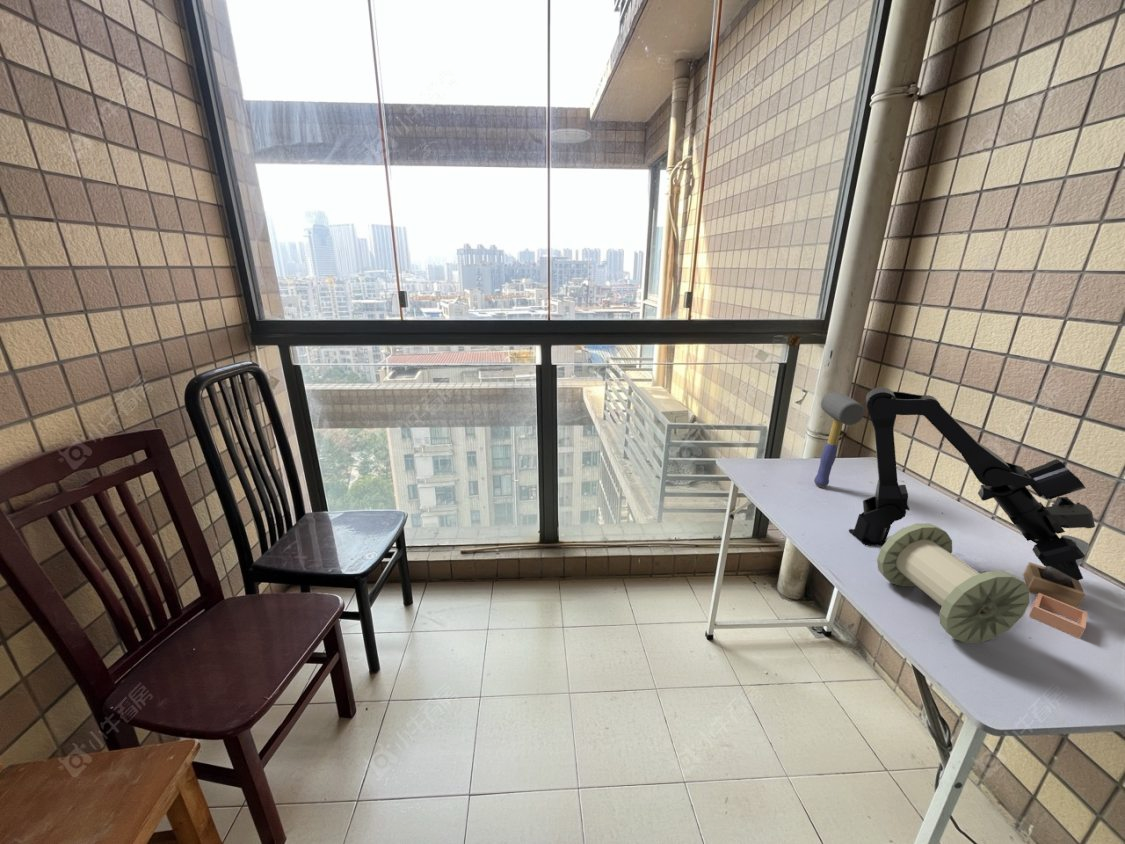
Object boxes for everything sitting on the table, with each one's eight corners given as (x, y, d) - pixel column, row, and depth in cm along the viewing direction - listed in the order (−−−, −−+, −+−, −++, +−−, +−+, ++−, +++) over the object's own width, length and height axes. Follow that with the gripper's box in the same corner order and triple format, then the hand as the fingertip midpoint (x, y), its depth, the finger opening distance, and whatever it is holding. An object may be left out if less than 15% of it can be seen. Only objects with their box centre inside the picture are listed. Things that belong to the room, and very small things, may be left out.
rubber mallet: (842, 496, 131) (870, 402, 120) (816, 494, 131) (842, 401, 121) (823, 478, 142) (847, 391, 132) (799, 476, 143) (821, 389, 133)
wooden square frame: (1027, 591, 93) (1034, 578, 92) (1022, 574, 99) (1029, 562, 98) (1077, 608, 89) (1085, 595, 88) (1070, 590, 94) (1077, 577, 93)
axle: (1050, 597, 92) (1077, 546, 87) (1030, 584, 96) (1055, 535, 91) (1067, 597, 92) (1095, 546, 88) (1047, 584, 96) (1073, 535, 91)
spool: (869, 581, 95) (889, 523, 89) (932, 580, 96) (955, 523, 91) (935, 643, 79) (964, 577, 74) (1009, 641, 80) (1043, 576, 75)
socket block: (1028, 616, 86) (1033, 606, 86) (1033, 602, 90) (1038, 592, 90) (1079, 638, 81) (1085, 628, 81) (1082, 622, 85) (1087, 612, 85)
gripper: (1091, 511, 80) (1150, 582, 79) (1052, 474, 95) (1102, 533, 94) (1017, 532, 87) (1070, 598, 85) (992, 495, 102) (1037, 550, 100)
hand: (1071, 568), depth 91 cm, fingers open, 8 cm apart
